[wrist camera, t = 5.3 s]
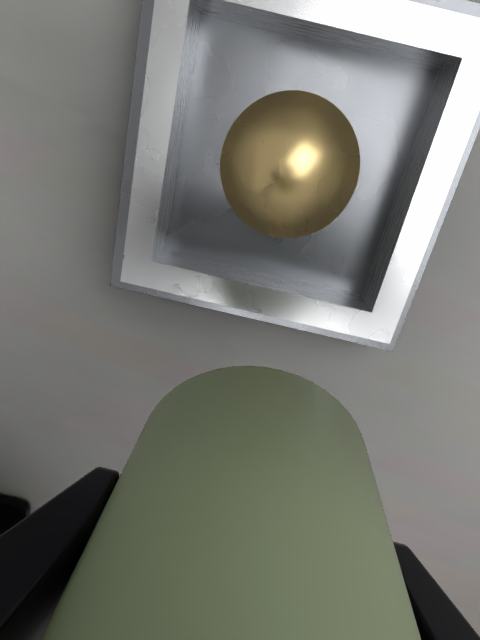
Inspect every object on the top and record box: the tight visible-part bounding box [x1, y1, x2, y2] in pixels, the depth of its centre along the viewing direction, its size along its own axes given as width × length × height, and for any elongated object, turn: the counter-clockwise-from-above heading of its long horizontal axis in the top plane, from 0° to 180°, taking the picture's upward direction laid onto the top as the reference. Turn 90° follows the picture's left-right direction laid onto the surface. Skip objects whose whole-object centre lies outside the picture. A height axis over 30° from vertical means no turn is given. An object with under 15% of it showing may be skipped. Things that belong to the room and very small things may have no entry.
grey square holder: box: [110, 0, 480, 351], centre depth 16 cm, size 12×12×4 cm
